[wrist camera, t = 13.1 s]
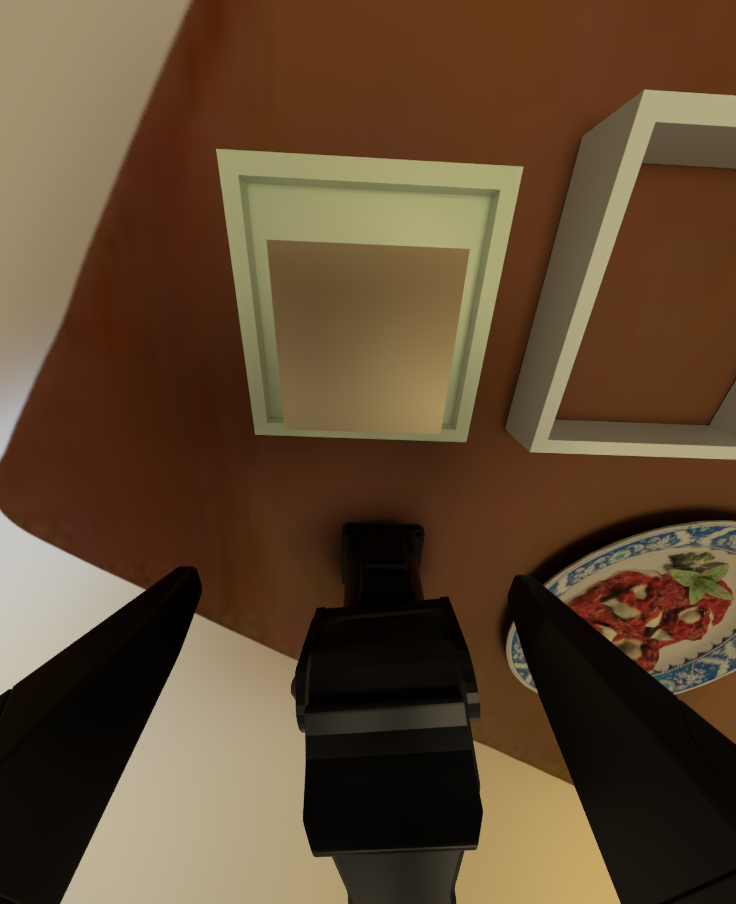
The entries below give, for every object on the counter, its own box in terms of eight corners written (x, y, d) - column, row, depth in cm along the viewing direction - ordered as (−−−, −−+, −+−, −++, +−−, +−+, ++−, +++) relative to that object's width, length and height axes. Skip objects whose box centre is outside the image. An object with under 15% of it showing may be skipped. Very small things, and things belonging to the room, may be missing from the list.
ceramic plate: (602, 705, 38) (620, 736, 35) (445, 633, 31) (452, 665, 29) (837, 586, 28) (886, 616, 26) (682, 446, 22) (726, 467, 19)
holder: (714, 436, 21) (775, 460, 18) (504, 428, 21) (529, 452, 17) (885, 154, 14) (1029, 114, 11) (582, 136, 14) (644, 89, 11)
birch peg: (402, 366, 18) (440, 434, 9) (325, 363, 18) (284, 429, 9) (410, 277, 16) (470, 248, 7) (323, 273, 16) (266, 239, 7)
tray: (457, 429, 21) (466, 442, 19) (264, 422, 20) (255, 434, 19) (504, 182, 15) (523, 166, 13) (234, 167, 14) (216, 149, 13)
